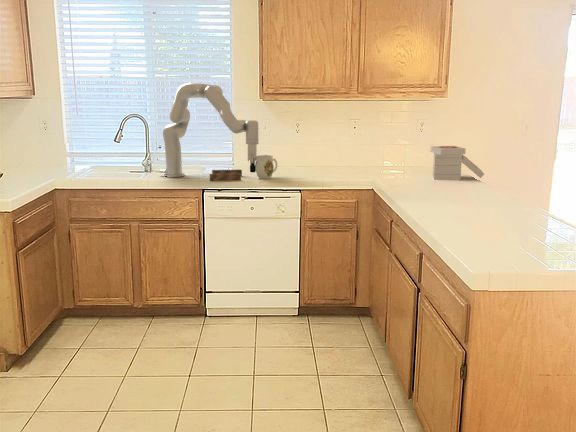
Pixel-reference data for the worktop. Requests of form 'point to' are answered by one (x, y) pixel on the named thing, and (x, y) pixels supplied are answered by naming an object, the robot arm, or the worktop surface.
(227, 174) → the wooden planks
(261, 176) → the pitcher
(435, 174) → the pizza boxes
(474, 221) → the worktop surface
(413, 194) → the worktop surface
